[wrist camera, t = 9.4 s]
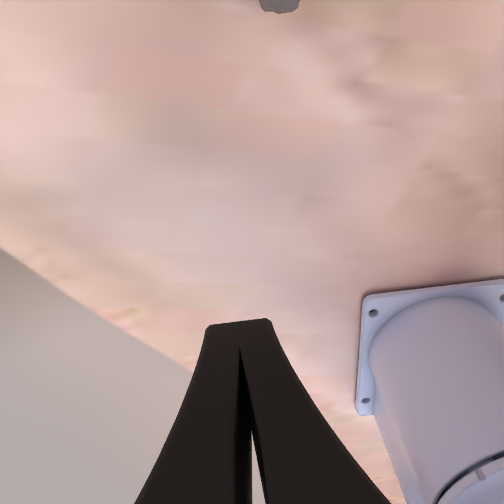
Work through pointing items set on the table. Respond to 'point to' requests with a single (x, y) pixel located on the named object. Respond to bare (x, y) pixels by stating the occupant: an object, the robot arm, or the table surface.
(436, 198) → the table surface
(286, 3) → the pocket watch
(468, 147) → the table surface
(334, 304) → the table surface
